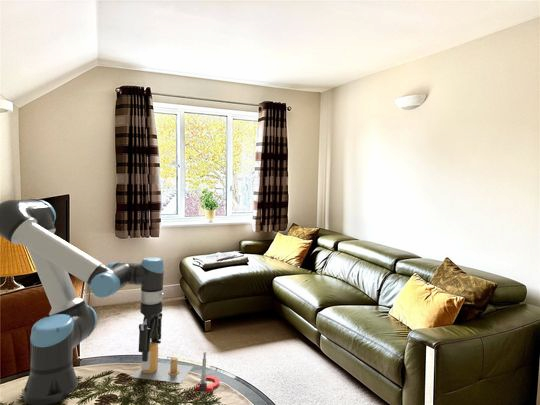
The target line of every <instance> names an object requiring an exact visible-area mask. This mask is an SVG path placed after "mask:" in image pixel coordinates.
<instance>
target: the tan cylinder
mask: <svg viewBox="0 0 540 405" xmlns="http://www.w3.org/2000/svg"><path fill="white" fill-rule="evenodd" d="M149 351H150V370H143V369H142V365H141V367H140V368H141V370H142V372H143V373H152V372H155V371H156V370H157V369H158V362H159V343H156V342H151V341H150V348H149Z"/></svg>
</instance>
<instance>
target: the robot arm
mask: <svg viewBox="0 0 540 405" xmlns="http://www.w3.org/2000/svg"><path fill="white" fill-rule="evenodd" d="M56 219H57V215H56V211H55V209H54V207H53V206H52V205H51V204H50V203H49V202H47V201H45V200H43V199H37V198H27V199H26V198H25V199H7V200H4V201H3V202H0V237H2V238H4V239H5V240H7V241H8V242H10V243H12V244H14V245H19V244H20V245H22V246H23V247H25V248H27V250H28V252H29V256H30V258H31V260H32V262H33V266H34V267H35V270H36V273H37V275H38V277H39V280H40V282H41V285H42V288H43V289H44V292H45V294H46V297H47V299H48V302H49V304H50V306H51V310H50V311H49V313H48V315H49V316H44V317H42V318H41V319H39V320H37V321H36V322H35V323H34V324H33V325H32V328H31V333H30V338H29V339H30V340H29V341H30V370H29V372H30V373H29V375H28V378H27V381H26V383H25V387H24V389H23V395H22V396H23V398H22V399H23V401H24V403H26V404H28V405H52V404H56V403H59V402H62V401H64V400H66V399H67V398H70V397H72V395H71V394H70V393H72V391H74V390H75V389H76V388H77V387H78V385H79V379H78V376H77V375H76V372H75V368H74V365H73V356H74V355H73V353H74V352H73V350H74V348H76V347H77V346H78V345H80V344H81V343H82V342H83V341H84V340H86V339H87V338H88V337H89V336H91V334H92V333H93V332H94V331H95V329H96V327H97V324H98V315H97V313H96V311H95V309H94V308H93V307H91V306H89V305H88V304H86V301H85V299H84V298H82V297H79V296H78V294H77V292H76V289H75V286H74V284H73V281H72V280H71V277H70V274H71V275H72V276H74V277H76V279H78V280H81V281H82V282H84V283H85V284H86V285H89V287H90V290H91V292H92V293H93V295H94V296H96V297H98V298H107V297H110V296H113V295H114V294H116V293H117V292H118V291H119V290H121V289H123V288H124V287H125V286H127V285H133V286H134V285H137V286H139V285H140V305H139V306H140V308H139V309H140V310H139V312H140V314H141V315H143V319H142V321H143V322H142V323H140V324H138V330H139V336H138V353H141V366H142V369H143V370H150V351H149V348H150V342H156V343H158V345H159V344H161V343H162V341H161V340H162V319H163V313H162V312H163V304H164V303H163V296H164V294H165V293H164V275H165V274H164V272H165V268H164V260H163V258H161V257H156V256H153V257H152V256H151V257H150V256H149V257H143V258H142V259H141V262H140V263H135V262H134V263H133V262H121V261H118V262H110V263H108V264H107V265H105V264H104V263H102V262H101V261H99V260H98V259H96V258H94V257H92V256H91V255H89V254H87V253H86V252H84V251H82V250H80V249H79V248H78V247H76V246H75V245H72V244H71V243H70V242H67V241H66V240H64V239H63V238H61V237H60V236H57V235H56V234H55V233H56V230H57V229H56V227H55V221H56Z"/></svg>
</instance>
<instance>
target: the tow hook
mask: <svg viewBox="0 0 540 405" xmlns="http://www.w3.org/2000/svg"><path fill="white" fill-rule="evenodd" d="M202 356H203V357H202V362H201V363H202V365H201V376H200V381H199V383H198V384H197V385H196V387H195V388H194V391H199V392H209V393H213V390H214V389H216V388H218V387H219V385H220V380H219V378H217V377H215V376H210V375H206V372H207V371H206V369H207V352H206V351H203V355H202ZM208 381H212V382H214V383H212V384H210V385H209V384H208Z"/></svg>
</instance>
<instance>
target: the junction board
mask: <svg viewBox="0 0 540 405" xmlns="http://www.w3.org/2000/svg"><path fill="white" fill-rule="evenodd" d="M193 367H194V366H193V365H186V364H185V365H184V364H183V365H182V364H179V363H178V357H176V356H175V357H171V358H170V363H165V362H160V361H158V369H157V370H156V371H155V372H152V373H143V372H142V370H141V367H140V368H139V369H138V370H137V371H135V373H133V375H131V378H135V379H141V380H142V379H143V380H151V381H161V382H169V383H177V384H178V383H179V384H182V382H183V381H184V379H185V378H186V377H187V375H188V374H189V373H190V372H191V371H192V369H193Z"/></svg>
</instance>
